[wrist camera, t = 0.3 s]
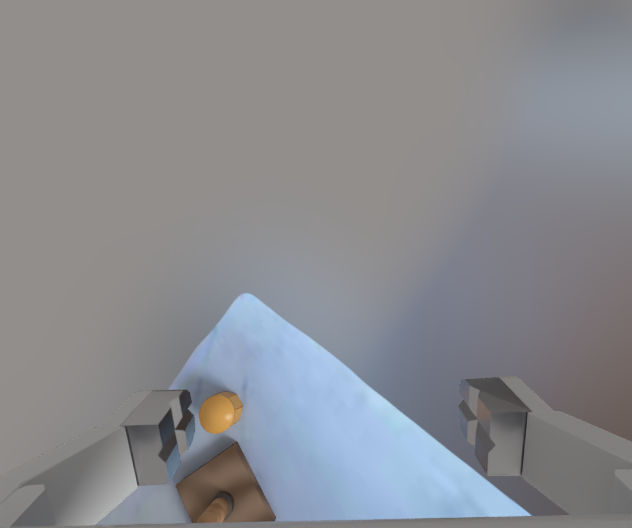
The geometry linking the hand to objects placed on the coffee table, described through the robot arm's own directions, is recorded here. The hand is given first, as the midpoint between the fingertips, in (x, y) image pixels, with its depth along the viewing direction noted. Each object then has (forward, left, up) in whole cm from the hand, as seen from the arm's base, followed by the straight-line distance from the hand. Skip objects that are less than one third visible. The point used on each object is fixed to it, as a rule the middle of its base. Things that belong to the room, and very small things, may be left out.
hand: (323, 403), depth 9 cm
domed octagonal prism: (+4, +23, -53) cm, 58 cm away
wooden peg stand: (-9, +30, -53) cm, 62 cm away
